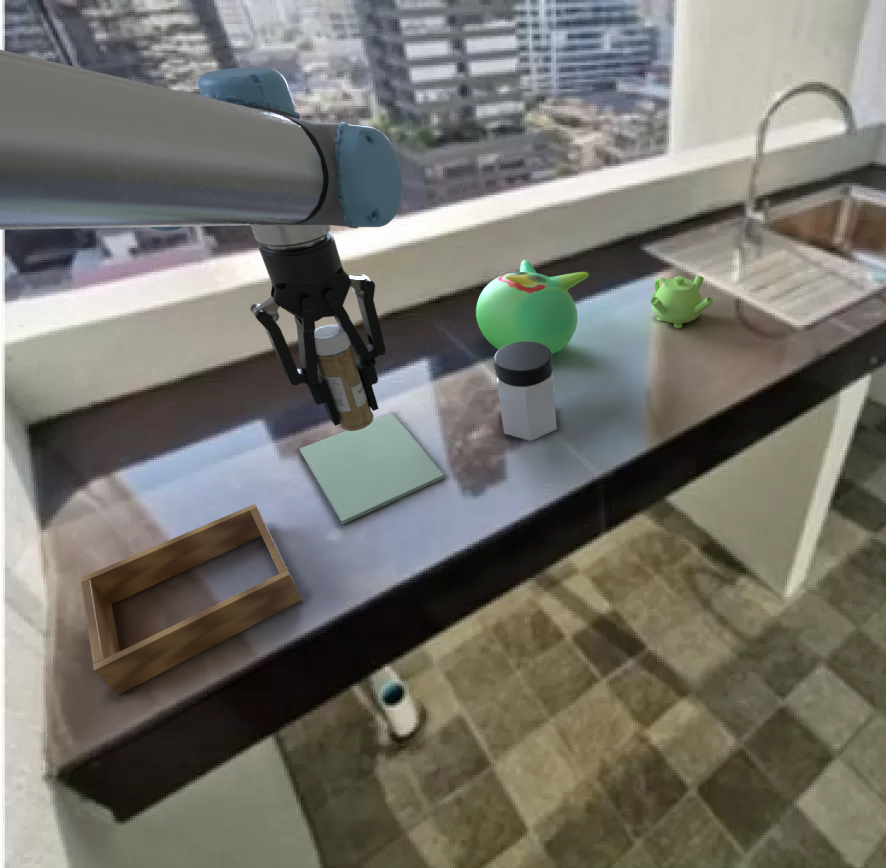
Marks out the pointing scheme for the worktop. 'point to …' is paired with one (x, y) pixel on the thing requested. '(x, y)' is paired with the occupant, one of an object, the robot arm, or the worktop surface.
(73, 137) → the robot arm
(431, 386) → the worktop surface
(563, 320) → the toy bird
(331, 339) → the spice bottle
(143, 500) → the worktop surface
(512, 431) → the jar
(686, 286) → the teapot
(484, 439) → the worktop surface
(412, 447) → the mat
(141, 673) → the wooden tray
